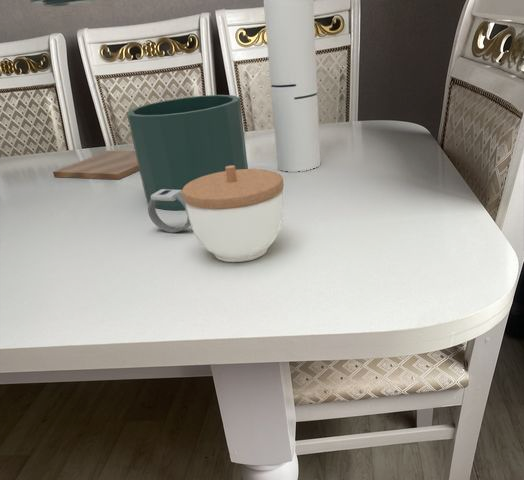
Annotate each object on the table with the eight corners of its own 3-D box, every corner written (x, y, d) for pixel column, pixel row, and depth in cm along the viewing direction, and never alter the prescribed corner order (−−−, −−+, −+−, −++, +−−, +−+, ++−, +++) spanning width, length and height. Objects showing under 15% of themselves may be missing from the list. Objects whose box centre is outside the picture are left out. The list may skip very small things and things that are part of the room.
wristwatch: (200, 228, 67) (194, 189, 64) (189, 236, 65) (182, 196, 62) (160, 226, 70) (152, 188, 67) (149, 233, 68) (140, 195, 65)
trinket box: (278, 228, 64) (271, 148, 59) (298, 261, 55) (291, 171, 50) (191, 242, 63) (177, 162, 58) (197, 278, 54) (180, 188, 49)
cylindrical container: (281, 161, 92) (267, -11, 78) (322, 159, 90) (315, -17, 77) (274, 172, 86) (257, -11, 72) (317, 170, 84) (309, -18, 71)
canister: (125, 207, 78) (103, 117, 72) (184, 176, 90) (170, 97, 83) (215, 213, 72) (200, 114, 65) (266, 179, 83) (258, 93, 76)
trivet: (54, 177, 100) (52, 171, 99) (109, 155, 111) (108, 150, 111) (119, 179, 93) (117, 173, 92) (170, 156, 105) (169, 151, 104)
